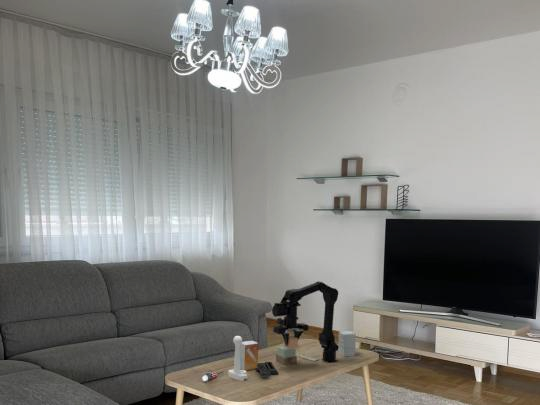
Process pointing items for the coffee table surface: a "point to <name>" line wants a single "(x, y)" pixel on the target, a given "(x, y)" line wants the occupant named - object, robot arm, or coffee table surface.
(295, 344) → the terracotta cube
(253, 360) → the small box
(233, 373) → the joystick
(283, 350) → the sage top block
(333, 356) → the robot arm
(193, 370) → the coffee table surface
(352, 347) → the supplement box
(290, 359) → the walnut base block
